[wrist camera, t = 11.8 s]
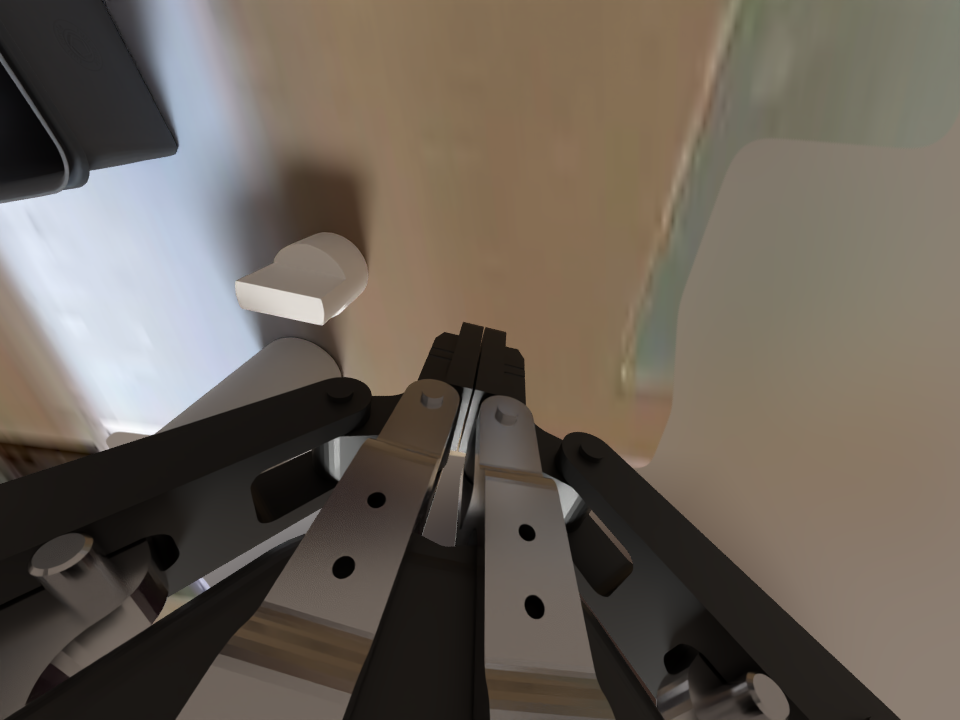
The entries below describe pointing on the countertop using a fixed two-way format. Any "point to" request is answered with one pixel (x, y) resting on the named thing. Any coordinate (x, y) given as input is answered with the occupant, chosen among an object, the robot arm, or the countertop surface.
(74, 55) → the storage bin
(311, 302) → the cylinder with rectangular tab
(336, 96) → the countertop surface
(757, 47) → the countertop surface
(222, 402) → the cylinder vase
